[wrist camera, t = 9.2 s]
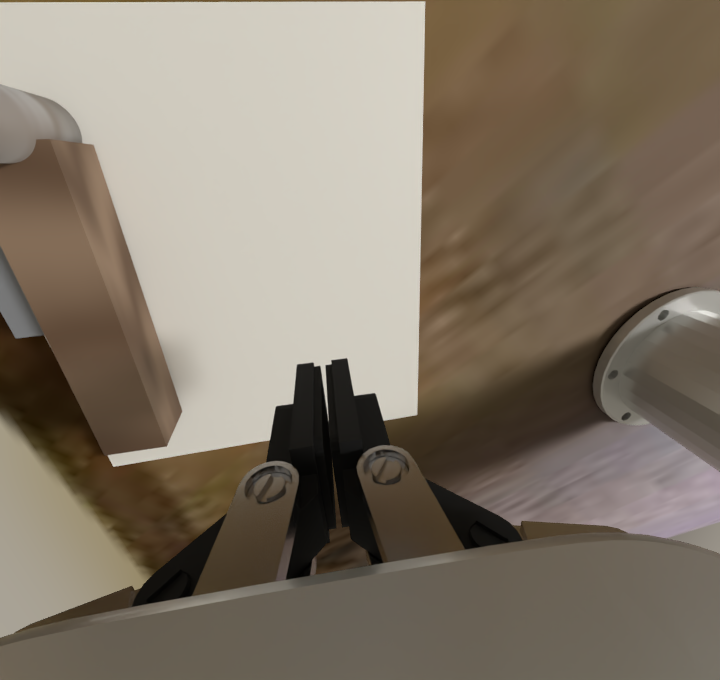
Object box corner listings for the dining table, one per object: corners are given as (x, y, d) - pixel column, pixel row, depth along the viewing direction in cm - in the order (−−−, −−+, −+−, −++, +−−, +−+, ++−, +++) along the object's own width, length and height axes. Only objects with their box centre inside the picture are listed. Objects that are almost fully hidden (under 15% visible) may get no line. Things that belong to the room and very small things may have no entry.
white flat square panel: (410, 19, 16) (444, -22, 13) (408, 398, 26) (427, 434, 23) (-78, 24, 14) (-206, -27, 10) (126, 444, 24) (98, 492, 20)
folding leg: (-9, 96, 13) (-104, 73, 10) (77, 95, 14) (11, 72, 10) (128, 418, 20) (98, 465, 17) (182, 411, 21) (162, 455, 18)
